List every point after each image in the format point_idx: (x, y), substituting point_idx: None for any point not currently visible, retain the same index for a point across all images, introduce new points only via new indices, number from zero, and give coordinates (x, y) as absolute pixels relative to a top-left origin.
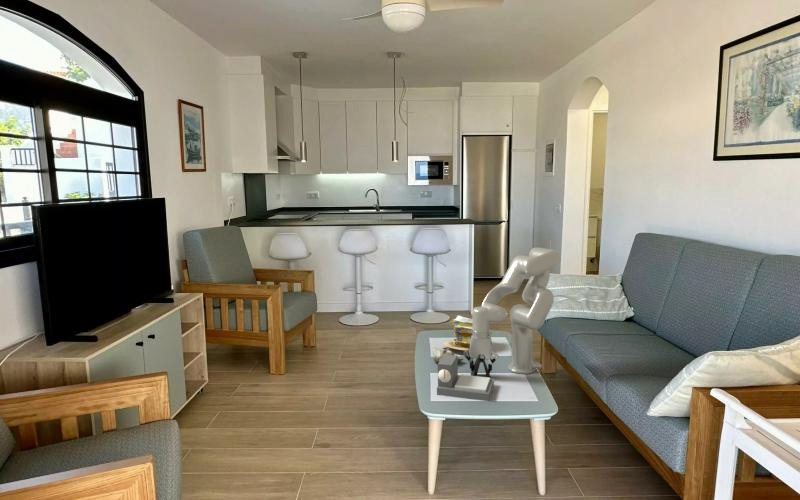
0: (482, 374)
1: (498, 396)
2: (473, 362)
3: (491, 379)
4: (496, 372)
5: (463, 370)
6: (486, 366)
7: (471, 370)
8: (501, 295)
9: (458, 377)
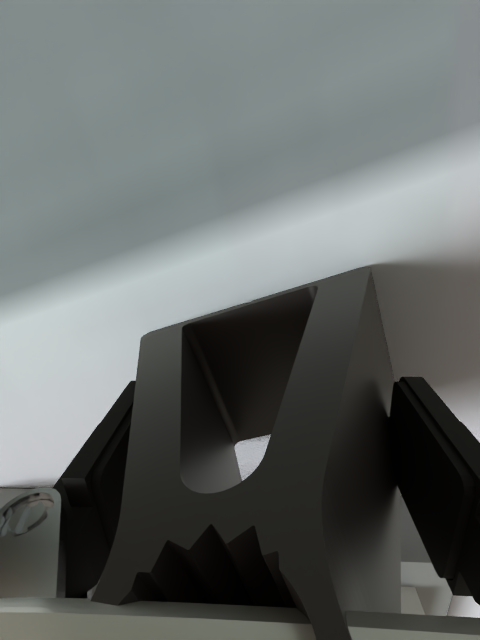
0: (276, 303)
1: None
2: (113, 474)
3: (429, 577)
4: (461, 138)
5: (12, 226)
6: (397, 579)
7: None
8: None
9: (92, 590)
